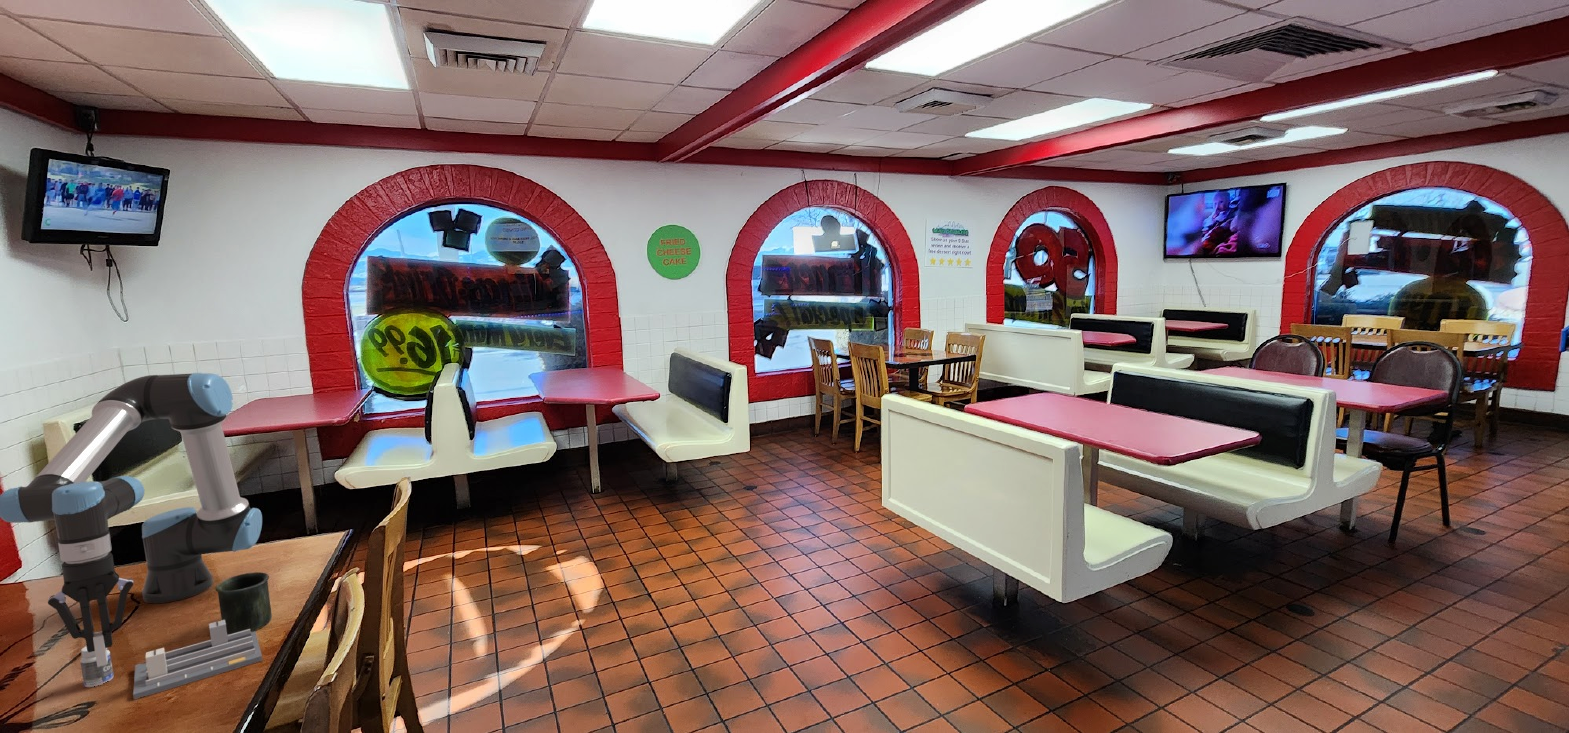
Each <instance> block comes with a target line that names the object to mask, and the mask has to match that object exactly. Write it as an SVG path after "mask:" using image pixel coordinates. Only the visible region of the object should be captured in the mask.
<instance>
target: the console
mask: <svg viewBox="0 0 1569 733" xmlns="http://www.w3.org/2000/svg"><path fill="white" fill-rule="evenodd" d="M208 626H209V627H208V628H209V634H210V639H209V640H206V641H201V642H197V643H195V644H194V643H193V644H192V645H188V646H187V645H186V646H184V647H180V648H176V649H173V650H169V651H165V657H166V664H167V674H166V675H162V676H159V677H156V678H152V679H149V677H148V670H147V664H146V661H144V662H142V663H138V664H136V665H134V680H133V692H132V695H133V696H132V697H133V700H134V699H135V700H139V699H141V698H140V697H142V698H144V697H143V696H145V697H149V696H151V695H154V694H158V693H161V692H164V691H167V690H170V689H174V688H178V687H181V686H184V685H186V684H190V683H194V682H197V681H201V680H204V679H206V678H210V677H213V676H216V675H220V674H223V673H226V672H230V671H232V670H235V669H239V668H242V667H246V666H249V665H252V664H255V663H259V662H263V656H262V655H263V654H262V650H261V648H260V644H259V640H258V636H257V630H255V631H252V632H250V629H248V630H244V631H241V632H237V633H233V634H227V630H226V623H225V620H219V621H214V622H211V623H208ZM138 698H139V699H138Z"/></svg>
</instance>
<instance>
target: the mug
mask: <svg viewBox="0 0 1569 733" xmlns="http://www.w3.org/2000/svg"><path fill="white" fill-rule="evenodd" d="M269 579H270V576H269V574H268V573H266V572H259V571H258V572H247V573H242V574H238V575H234V576H231V577H229V578H226V579H224V580H222V581H221V582H219V583H218V584H217V585H216V586H215V587H214V588H215V589H214V590H215V591H216V592H217V595H218V603H219V609H220V610H219V611H220V617H221V620H220V621H222V620H225V623H226V630H227V635H230V634H233V633H237V632H241V631H244V630H248V629H250V632H254V631H257V630H259V629H261V628H264V627H265V626H266V625H269V623H270V622H271V620H272V617H273V614H272V608H271V599H270V592H269V591H270V590H269V582H268V580H269Z"/></svg>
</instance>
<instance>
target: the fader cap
mask: <svg viewBox="0 0 1569 733" xmlns="http://www.w3.org/2000/svg"><path fill="white" fill-rule="evenodd" d="M165 652H166V651H165V647H161V648H157V649H154V650H151V651H147V652H145V662H146V664H147V670H148V677H149V679H152V678H156V677H159V676H162V675H166V674H167V664H166V657H165Z"/></svg>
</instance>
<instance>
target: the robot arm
mask: <svg viewBox="0 0 1569 733" xmlns="http://www.w3.org/2000/svg"><path fill="white" fill-rule="evenodd" d="M232 400H233V394H232V390H231V387H230V385H229V383H228V382H227V381H226V379H224V378H223V377H222V376H220V375H218V374H215V373H209V372H207V373H202V372H194V373H176V374H175V373H173V374H152V375H144V376H140V377H137V378H134V379H131V380H129V381H126V382H125V383H122V384H121V385H120V386H117V387H116V388H114V389H113V390H111V391H110V392H108V393H107V394H105V395H104V396H103V397H102V398H101V399H100V400H99V401H97V403H96V404H94V406H93V407H92V410H91V416H90V417H89V418H88V420H86V422H85V423H84V424H83V425H82V426H81V427H80V428H79V430H78V431H77V432H76V433H75V434H74V435H73V436H72V437H71V438H70V439H69V440H68V441H67V442H66V444H64V446H63V447H62V448H61V449H60V450H59V451H58V452H57V454H55V456H54V457H53V458H52V459H51V460H50V461H49V462H48V463H47V464H46V466H45V467H44V468H42V470H41V471H40V472H39V473H38V474H37V475H36V476H35V477H34V479H33V480H32V481H30V482H29V484H28V485H27V486H17V487H13V488H8V489H7V490H4V491H3V492H2V493H1V494H0V518H1V520H3V521H4V522H6V523H12V524H13V523H15V524H16V523H18V524H19V523H36V522H48V521H54V525H55V529H56V534H57V544H58V550H59V551H58V552H59V557H60V561H62V564H61V569H62V570H61V571H62V578H63V585H62V587H61V590H60V591H58V592H57V593H56V594H55V595H54V594H52V595H50V596H49V598H48V601H47V604H48V606H50V607H52V608H53V609H54V610H56V611H57V614H58V615H59V617H60V619H61V620H62V622H63V624H64V626H65V627H66V629H67V630H68V631H67V632H68V633H69V634H70V636H71V638H72V639H75V640H77V639H85V647H86V646H87V651H88V652H93V651H95V655H96V661H97V667H99V666H103V665H107V662H108V656H107V650H108V648H112V646H113V643H114V641H113V633H112V632H113V631H114V630H116V629H119V628H121V627H122V625H123V624H122V623H123V619H124V613H125V608H126V604H127V599H128V594H129V592H130V591H131V589H132V588H133V586H134V579H133V578H127V579H125V578H121V577H120V575H119V574H118V573H117V572H116V570H115V561H114V555H113V554H112V552H111V551H112V550H113V549H112V543H111V534H110V533H111V532H110V528H109V519H111V518H114V517H115V516H117V515H120V514H122V513H123V512H126V511H129V510H130V509H132V508H133V507H134V506H136V505H137V504H139V503H140V502H141V501H142V500H143V498H144V496H145V487H144V485H143V483H142V482H141V481H140V480H139V479H137V478H136V477H134V476H130V475H129V476H127V475H121V476H116V477H111V478H109V479H107V480H103V481H102V480H101V481H96V480H94V481H87V480H88V479H89V478H90V477H91V475H92V474H93V473H94V472H95V471H96V470H97V468H98V467H99V466H100V465H101V464H102V462H103V461H104V460H105V459H106V458H107V456H108V455H109V454H110V453H111V452H112V451H113V450H114V448H115V447H116V446H117V444H118V443H119V442H120V441H121V440H122V438H124V436H125V435H126V434H127V432H129V431H132V430H135V429H136V428H138V427H139V426H140V424H141V423H144V422H147V421H150V420H151V421H152V420H166V419H167V420H169V424H170V426H171V429H173V430H174V431H177V432H180V435H181V437H182V443H183V445H184V448H185V452H186V456H187V459H188V462H189V466H190V470H191V473H192V476H193V477H192V478H193V481H194V484H195V488H196V492H197V494H198V498H199V502H200V505H201V507H200V508H199V509H198V510H197V509H196V508H195V507H189V506H188V507H187V506H186V507H181V508H176V509H170V510H168V511H164V512H162V513H159V514H156V515H153V516H152V517H150V518H148V519H146V520H145V521H144V522H143V523H142V525H141V534H142V535H141V539H142V542H143V548H144V554H145V560H146V566H147V574H146V577H145V581H144V584H143V588H142V593H141V594H142V599H143V602H144V603H149V604H164V603H171V602H175V601H181V600H184V599H187V598H191V597H193V596H195V595H196V596H197V595H198V594H201V593H203V592H206V591H207V590H208V589H210V588H211V587H212V586H213V585H214V579H213V575H212V573H211V571H210V570H209V568H208V566H207V565H206V563H205V561H203V556H202V555H208V554H209V555H210V554H218V553H219V554H220V553H226V552H227V553H228V552H229V553H230V552H233V553H235V552H238V551H244V550H249V549H251V548H253V547H254V545H256V543H257V542H258V541H259V538H260V536H261V531H262V528H263V527H262V526H263V514H262V512H261V510H260V509H259V508H257V507H252V508H251V507H250V503H249V500H248V499H247V498H245V497H242V496H240V491H239V488H238V483H237V480H236V476H235V472H234V469H233V464H232V462H231V457H230V453H229V450H228V449H229V448H228V446H227V445H228V444H227V441H226V438H225V434H224V430H223V425H222V424H223V423H224V422H225V421H226V419H227V418H228V417H227V415H228V414H230V412H231V411H232V408H233V401H232ZM116 585H118V586H117V590H119V591H120V592H119V595H118V601H117V606H116V610H115V611H116V612H115V616H114V620H113V621H112V622H111V618H110V612H109V606H108V596H109V594H110V593H111V592H112V591H113V589H114V588H115V587H116ZM67 597H68V598H70V599H71V600H74V601H75V602H77V603H79V607H80V612H81V620H82V625H83V626H82V628H83V629H81V627H80V625H79V623H78V622H77V620H76V618H75V616H74V614H73V613H72V610H71V609H70V608H69V606H68V603H66V600H67ZM91 601H96V602H97V605H98V611H99V612H98V613H99V618H100V619H99V620H100V627H101V631H97V632H95V629H94V622H93V616H92V609H91ZM106 648H107V649H106Z"/></svg>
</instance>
